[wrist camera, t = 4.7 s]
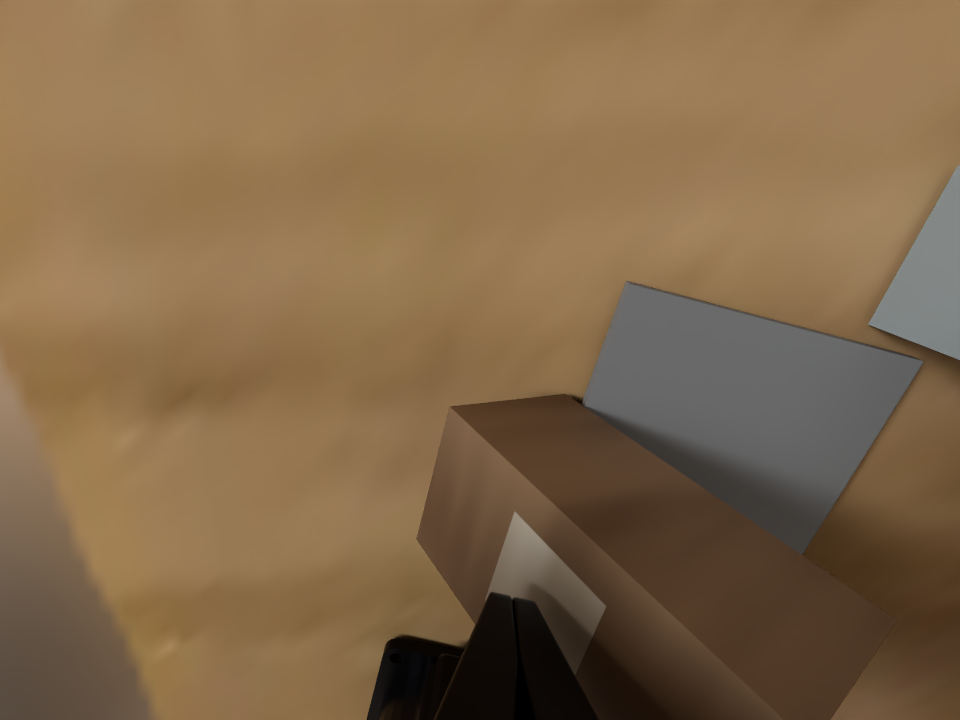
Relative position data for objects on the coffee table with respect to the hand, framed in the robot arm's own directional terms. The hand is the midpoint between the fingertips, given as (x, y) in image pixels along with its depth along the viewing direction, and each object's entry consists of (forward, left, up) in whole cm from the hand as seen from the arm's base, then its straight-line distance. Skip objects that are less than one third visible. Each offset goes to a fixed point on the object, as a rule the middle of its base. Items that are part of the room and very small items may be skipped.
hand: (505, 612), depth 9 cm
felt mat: (0, -6, -6) cm, 8 cm away
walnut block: (0, 0, -5) cm, 5 cm away
